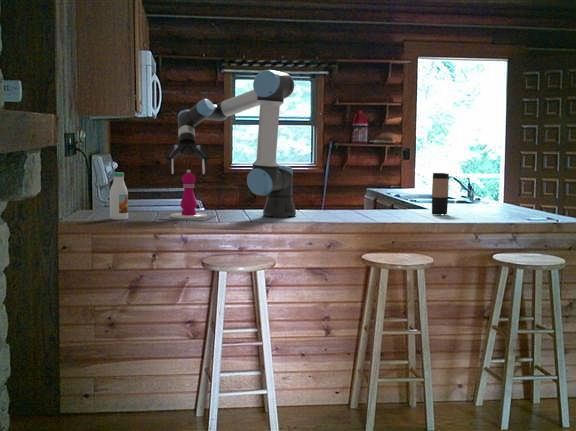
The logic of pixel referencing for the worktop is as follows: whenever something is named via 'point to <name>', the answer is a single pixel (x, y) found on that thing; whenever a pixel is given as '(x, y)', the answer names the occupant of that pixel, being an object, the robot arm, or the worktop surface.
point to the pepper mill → (188, 194)
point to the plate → (188, 216)
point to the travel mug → (440, 193)
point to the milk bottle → (118, 198)
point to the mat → (188, 219)
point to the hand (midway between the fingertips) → (188, 172)
